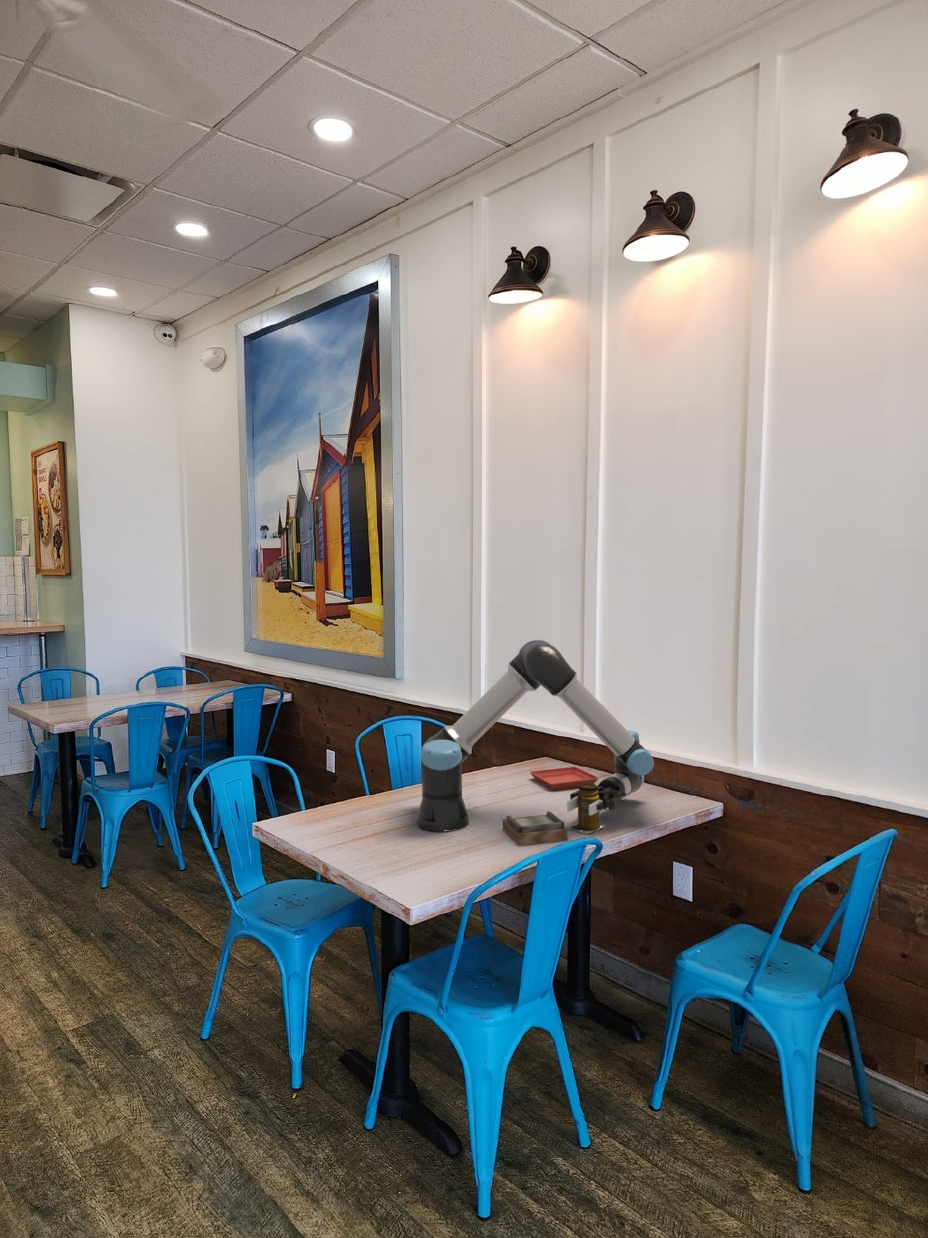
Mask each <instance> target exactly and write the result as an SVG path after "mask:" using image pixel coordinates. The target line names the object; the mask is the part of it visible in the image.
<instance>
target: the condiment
mask: <svg viewBox="0 0 928 1238" xmlns="http://www.w3.org/2000/svg"><path fill="white" fill-rule="evenodd" d="M578 790H579V795H578V807H577V824H574V825H572V826H568V827H567V829H568V830H573V831H575V832H578V833H583V834H587V835H589V834H590V833H594V832H596V831H600V830H602V829H604V828H606V827H607V826H606V825H600V820H601V819H600V817H601V816H600V811H598V812H596V813H595V814H593V815H589V805H590V804H592V803H594V802H596V801H597V800H599V795H598V785H596V784H595V783H594V784H582V785H580V786H579V787H578ZM600 826H603V828H601V829H599V828H600ZM597 829H598V830H597ZM581 830H582V831H581Z"/></svg>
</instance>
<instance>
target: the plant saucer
mask: <svg viewBox="0 0 928 1238" xmlns="http://www.w3.org/2000/svg"><path fill="white" fill-rule="evenodd" d="M529 774H530V775H531V776H532V777H533V779H534V780H536V781H537V782H538V781H539V783H540V784H542V785H544V786H545V787H547V788H549V789H551V790H552V791H559V790H560V791H561V790H568V789H569V790H570V789H574V788H575V789H576V788H578V789H579V786H580V785H582V784H594V785H595V783H596V782H597V781H598V780H599V777H598V776H596V775H594V774H592V773H590V772H588V771H586V770H583V769H582V768H579V767H578V766H569V767H568V766H567V767H560V768H558V767H557V768H549V769H541V770H532V771H529Z"/></svg>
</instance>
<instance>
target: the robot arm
mask: <svg viewBox="0 0 928 1238" xmlns="http://www.w3.org/2000/svg"><path fill="white" fill-rule="evenodd" d="M561 653H562V652H560V651H559V650H558V649H557V648H556V647H555V646H554V645H553V644H551V643H549V642H548V641H547V640H546V641H545V640H541V639H537V640H536V639H534V640H530V641H527V642H526V643H525V644H524V645H522V647H521V648H520V649H519V651H518V654H516V655H515V657H513V658H512V660H510V662H508V663H507V672H505V673H504V674H503V675H502V676H501V678H499V680H497V681H496V682H495V683H494V684H493V685H492V686H491V687H490V688H489V689H488V690H487V691H486V692H485V693H484V694H483V695H482V696H481V697H479V699H478V700H477V701H476V702H475V703H474V704H473V705H472V706H471V707H470V708H468V710H467V711H466V712H465V713H463V714H462V716H461V717H459V718H458V720H456V722H455V723H453V724H452V725H445V726H443V728H441V730H439V731H438V733H436V734H434V735H433V736H431V737H429V738H428V739H427V740H426V741H425V742H424V743H423V745H422V747H421V750H420V751H421V752H420V760H421V761H420V763H421V791H422V792H421V795H422V796H421V797H422V798H421V801H420V804H419V807H418V812H417V815H416V826H417V827H418V826H419V827H418V828H420V827H421V828H420V829H422V828H424V829H423V830H425V829H426V830H425V831H429V830H433V831H432V832H445V831H444V830H453V831H455V830H454V829H458V830H461V829H464V828H465V826H466V827H467V826H468V825H469V823H470V821H469V820H470V819H469V813H468V810H467V807H466V804H465V801H464V798H463V775H462V773H463V772H462V771H463V770H462V763H464V761H465V760H466V759H468V758H469V756H470V755H471V754H472V747H473V746H474V745H475V743H476V742H477V741H478V740H479V739H480V738H481V737H483V735H485V734H486V733H487V732H488V731H489V730H490V728H492V727H493V726H494V725H495V723H497V722H498V721H499V720H500V719H501V718H502V717H503V716H504V715H505V714H506V713H507V712H509V710H510V709H511V708H512V707H513V706H514V705H515V704H516V703H518V701H519V700H520V699H521V698H523V696H524V695H526V693H527V692H535V691H537V690H538V688H540V686H541V687H543V688H544V689H545V690H546V691H547V692H548V693H549V694H550V695H551V696H552V697H558V698H559V699H560V700H561V701H562V702H563V703H564V704H565V705H566V706H567V707H568V709H570V710H571V711H572V712H573V713H574V714H575V715H576V716H577V718H579V719H580V720H581V722H582V723H583V724H585V725H586V727H587V728H589V730H590V731H591V732H592V733H594V735H595V736H596V737H597V738H598V739H600V741H601V742H602V743H603V744H604V745H605V746H606V747H607V748H608V749H609V750H610V751H611V752H612V753H613V754H614V774H613V773H612V775H609V776H608V777H606V778H603V780H601V781H600V782H599V783H598V785H597V787H598V795H599V800H597V801H596V802H594V803H592V804H590V805H589V815H593V814H595V813H596V812H598V811H599V812H600V811H602V810H607V809H608V810H610V811H612V810H615V809H616V808H617V807H618V806H620V805H621V804H623V803H626V802H627V797H628V796H630V795H631V794H633V793H635V792H637V791H638V790H639V789H640V788H641V787H642V786H643V785H644V782H645V781H644V780H645V775H647V774H649V773H650V772H651V771H652V770H653V767H654V765H655V763H654V762H655V761H654V758H653V754H651V752H649V750H647V749H646V748H645V747H644V746H643V745H642V744H641V743H640V737H639V736H640V735H639V733H638V731H635V730H628V729H626V728H625V726H623V724H622V723H621V722H620V721H619V720H618V719H617V718H616V717H615V716H614V715H613V714H612V713H611V712H610V711H609V710H608V709H607V708H606V707H605V706H604V705H603V703H601V701H600V700H598V699H597V697H595V695H594V694H593V693H591V691H590V689H588V688H587V687H586V686H585V685H584V684H583V683H582V682H581V681H580V680H579V679H578V678H577V677H578V675H577V672H576V671H575V670H574V669H573V668H572V667H571V665H570V664H569V663H568V662H567V660H566V659H565V658H564V656H563V654H561ZM578 795H579V789H578V790H575V791H574V792H572V793H570V797H569V798H570V799H569V800H568V801H566V812H572V811H573V810H575V809H578ZM463 827H464V828H463ZM460 828H461V829H460Z"/></svg>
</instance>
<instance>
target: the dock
mask: <svg viewBox="0 0 928 1238" xmlns="http://www.w3.org/2000/svg"><path fill="white" fill-rule="evenodd" d="M565 825H566V824H565V822H564V821H563V820H562V819H560V818H559V817H558V816H556V814H554V813H553V812H551V810H549V811H546V814H540V815H530V816H529V815H528V816H520V817H518V816H517V817H512V816H511V815H510V814H509V815H506V818H503V819H502V831H504V830H505V831H504V832H505V833H506V834H507V835H508V836H509V837H510V838H511V839H512V840H513V842H515V843H516V844H517V845H518V846H519V845H520V846H528V845H536V844H537V843H538V844H544V842H546V843H554V842H562V841H568V839H569V834H568V833H569V832H568V831H569V828H568V827H565ZM546 843H545V844H546Z"/></svg>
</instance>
